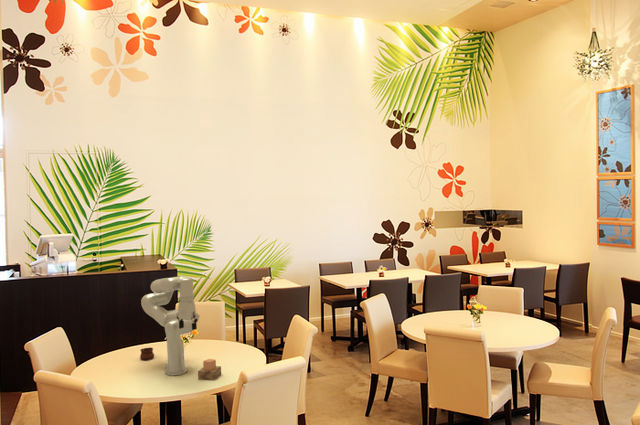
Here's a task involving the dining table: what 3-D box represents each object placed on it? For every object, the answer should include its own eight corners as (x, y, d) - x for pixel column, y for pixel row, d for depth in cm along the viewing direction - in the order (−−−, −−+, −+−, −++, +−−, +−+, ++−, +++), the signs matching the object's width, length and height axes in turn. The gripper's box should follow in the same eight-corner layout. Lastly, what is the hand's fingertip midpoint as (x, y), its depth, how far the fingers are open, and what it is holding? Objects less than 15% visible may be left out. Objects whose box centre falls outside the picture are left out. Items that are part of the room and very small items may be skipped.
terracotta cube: (203, 369, 301) (203, 360, 301) (209, 367, 305) (209, 358, 305) (209, 370, 298) (209, 362, 298) (216, 368, 302) (215, 359, 302)
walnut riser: (198, 380, 298) (198, 371, 298) (205, 374, 308) (204, 365, 308) (215, 380, 296) (214, 371, 296) (221, 374, 306) (220, 366, 306)
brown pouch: (145, 364, 329) (145, 353, 329) (126, 361, 338) (126, 350, 339) (167, 357, 345) (167, 346, 345) (148, 354, 354) (148, 344, 354)
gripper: (171, 299, 301) (172, 329, 302) (193, 301, 293) (194, 331, 294) (180, 297, 308) (181, 326, 308) (202, 299, 300) (203, 328, 300)
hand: (187, 328), depth 301 cm, fingers open, 9 cm apart
